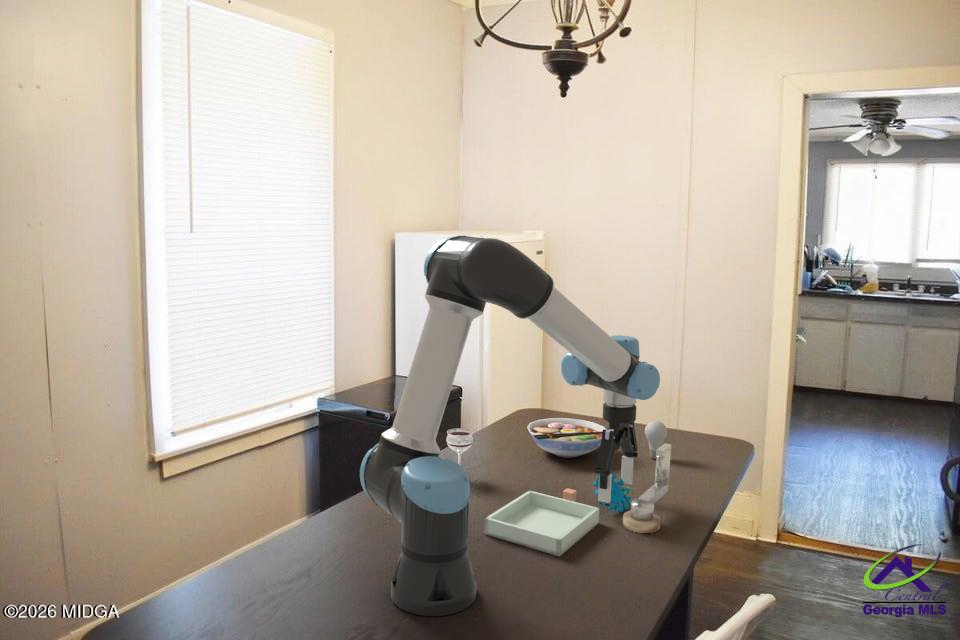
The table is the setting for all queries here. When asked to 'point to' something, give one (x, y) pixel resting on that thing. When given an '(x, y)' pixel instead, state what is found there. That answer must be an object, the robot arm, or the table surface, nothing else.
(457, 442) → the wineglass
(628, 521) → the crank pedestal
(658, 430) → the lightbulb
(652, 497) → the crank
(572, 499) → the post
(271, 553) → the table surface
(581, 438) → the ramen bowl
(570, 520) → the tray
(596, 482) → the gear
